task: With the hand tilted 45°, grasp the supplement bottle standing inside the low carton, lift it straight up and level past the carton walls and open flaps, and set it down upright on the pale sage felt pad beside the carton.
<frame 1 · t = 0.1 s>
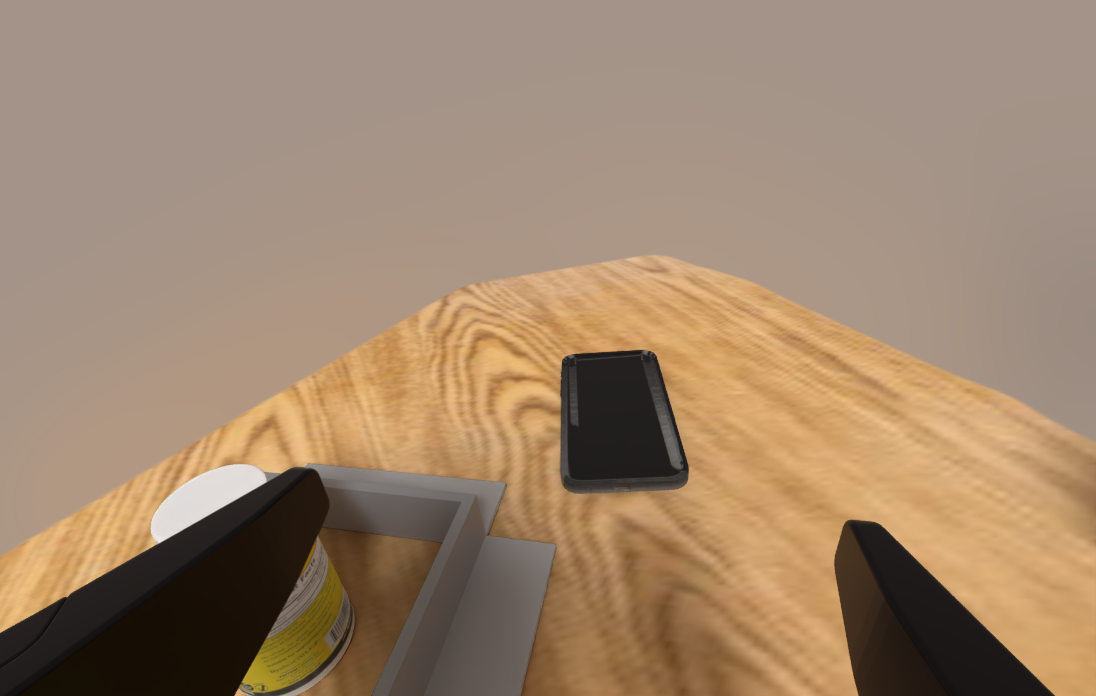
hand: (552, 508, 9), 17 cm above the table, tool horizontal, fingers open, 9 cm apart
phone: (615, 420, 37), on the table
carton: (298, 644, 24), on the table
supplement bottle: (300, 646, 24), resting in carton
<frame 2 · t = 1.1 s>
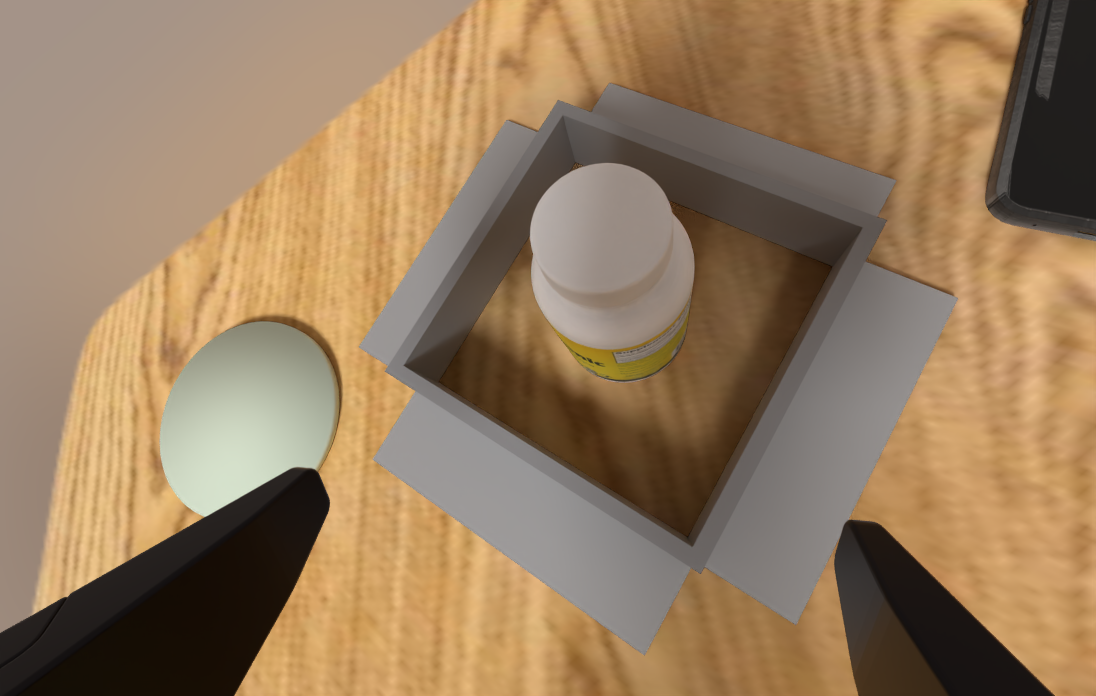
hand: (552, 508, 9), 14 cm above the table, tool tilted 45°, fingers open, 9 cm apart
felt pad: (251, 417, 26), on the table
carton: (624, 327, 23), on the table
supplement bottle: (625, 328, 23), resting in carton
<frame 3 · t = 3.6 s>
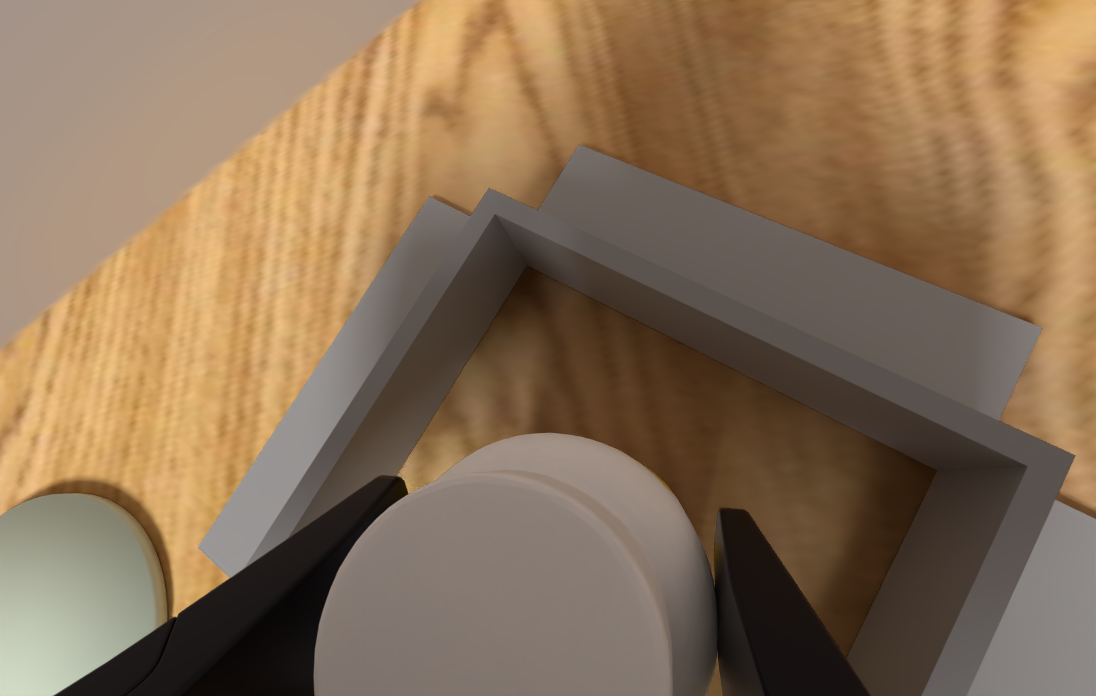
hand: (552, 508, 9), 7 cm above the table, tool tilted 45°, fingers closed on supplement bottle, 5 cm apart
felt pad: (43, 644, 18), on the table
carton: (595, 549, 15), on the table
supplement bottle: (596, 548, 15), resting in carton, touching gripper
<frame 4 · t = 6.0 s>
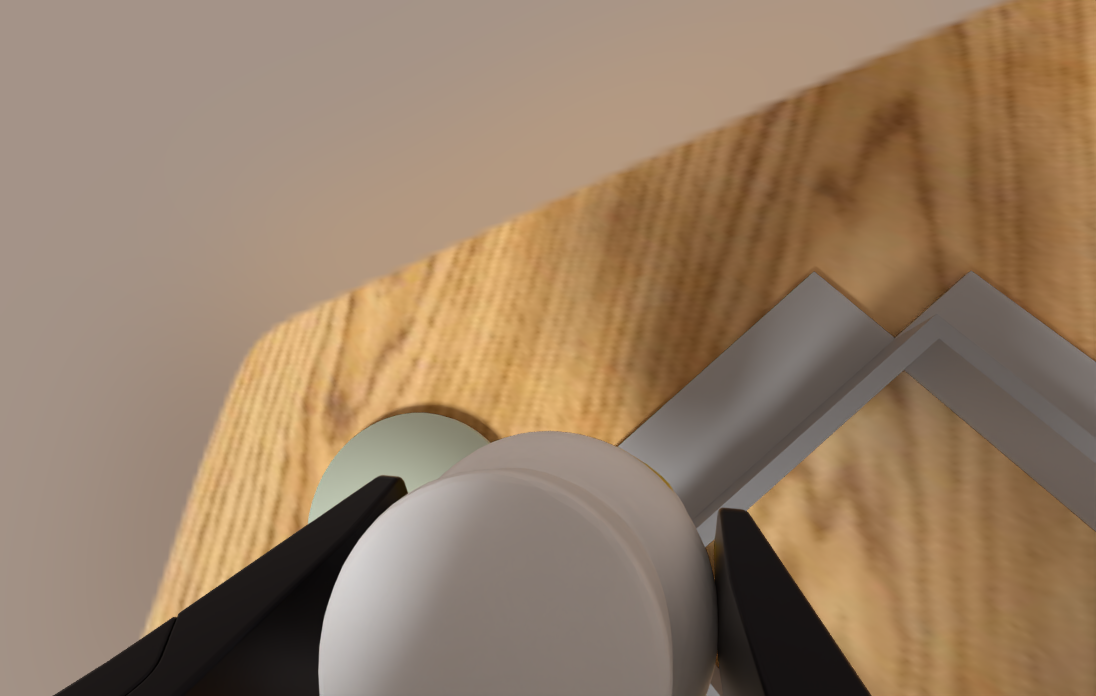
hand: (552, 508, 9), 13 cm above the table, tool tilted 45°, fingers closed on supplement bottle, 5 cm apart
felt pad: (414, 526, 23), on the table
carton: (912, 615, 18), on the table
supplement bottle: (598, 546, 15), point 6 cm above the table, touching gripper
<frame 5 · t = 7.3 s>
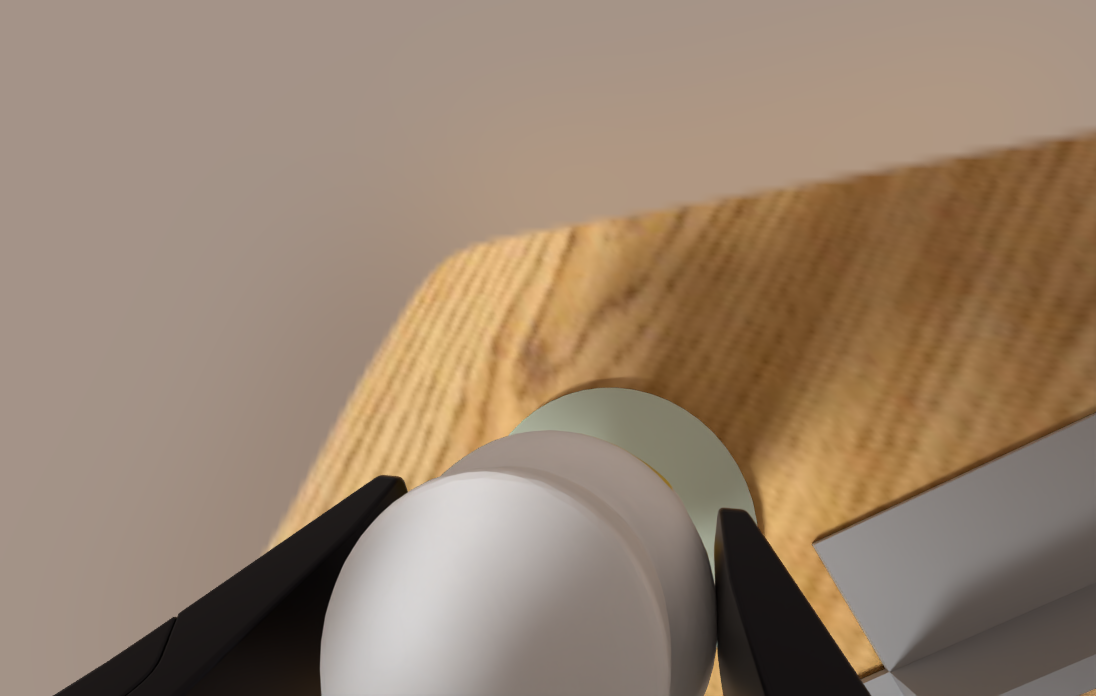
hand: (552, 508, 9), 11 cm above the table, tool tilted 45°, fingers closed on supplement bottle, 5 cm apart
felt pad: (610, 525, 19), on the table
supplement bottle: (599, 545, 15), point 4 cm above the table, touching gripper
when the fingers open (8 cm above the table, at t = 8.2 s): supplement bottle drops 1 cm, resting on felt pad.
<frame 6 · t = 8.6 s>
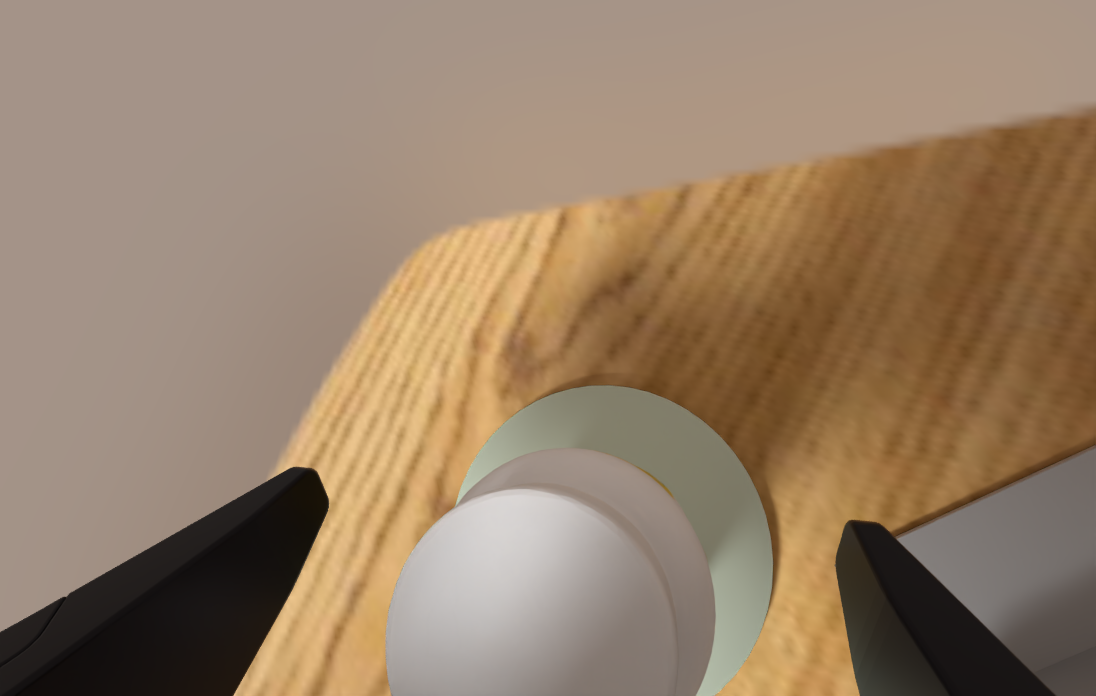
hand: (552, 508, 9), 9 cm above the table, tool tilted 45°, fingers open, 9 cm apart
felt pad: (602, 541, 16), on the table
supplement bottle: (604, 548, 16), resting on felt pad
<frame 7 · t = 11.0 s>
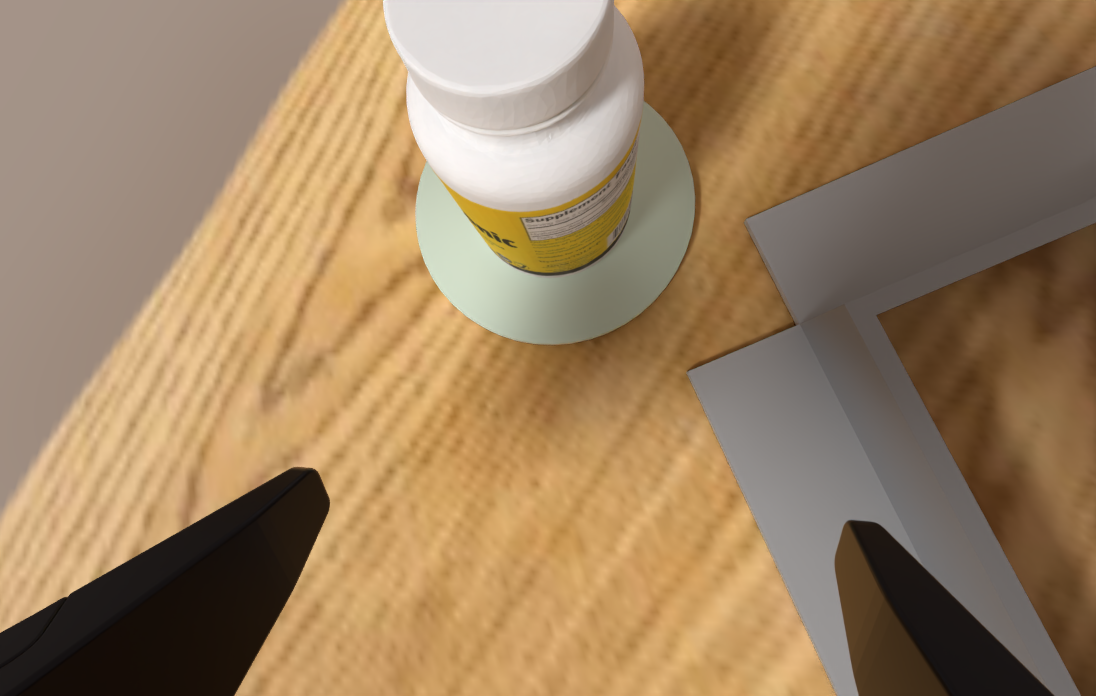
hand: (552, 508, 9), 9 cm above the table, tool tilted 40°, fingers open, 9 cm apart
felt pad: (552, 209, 19), on the table
supplement bottle: (553, 211, 18), resting on felt pad
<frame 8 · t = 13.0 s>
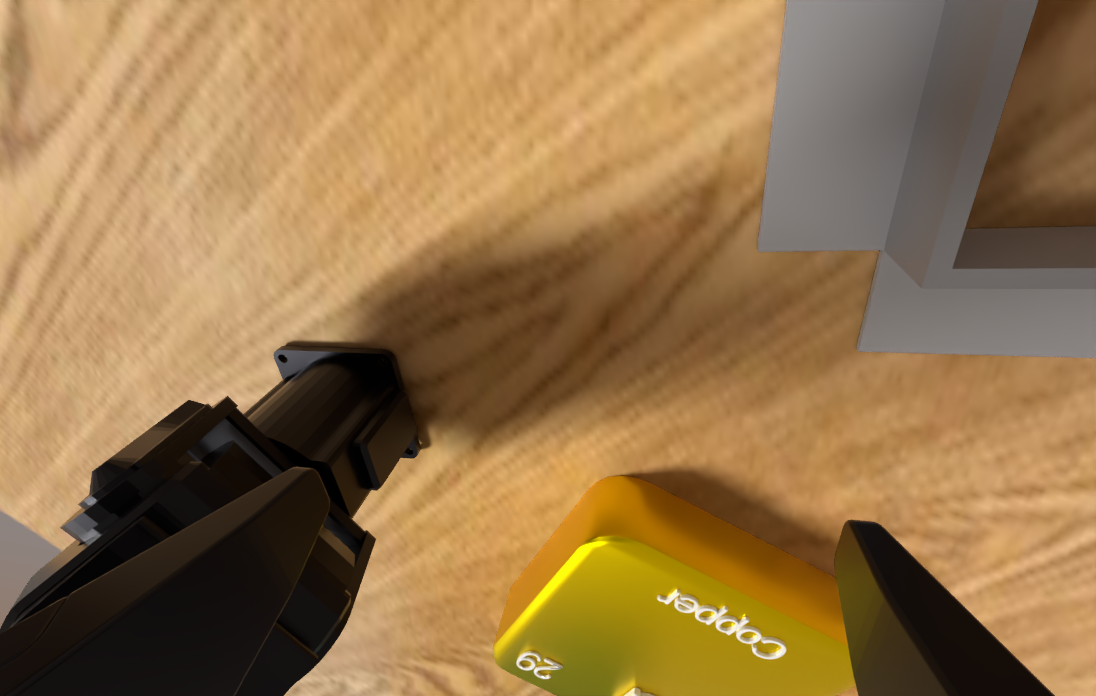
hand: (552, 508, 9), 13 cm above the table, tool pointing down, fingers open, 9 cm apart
element tile: (661, 589, 30), on the table
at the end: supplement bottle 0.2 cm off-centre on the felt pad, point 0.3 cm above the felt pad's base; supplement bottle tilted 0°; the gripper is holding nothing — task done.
